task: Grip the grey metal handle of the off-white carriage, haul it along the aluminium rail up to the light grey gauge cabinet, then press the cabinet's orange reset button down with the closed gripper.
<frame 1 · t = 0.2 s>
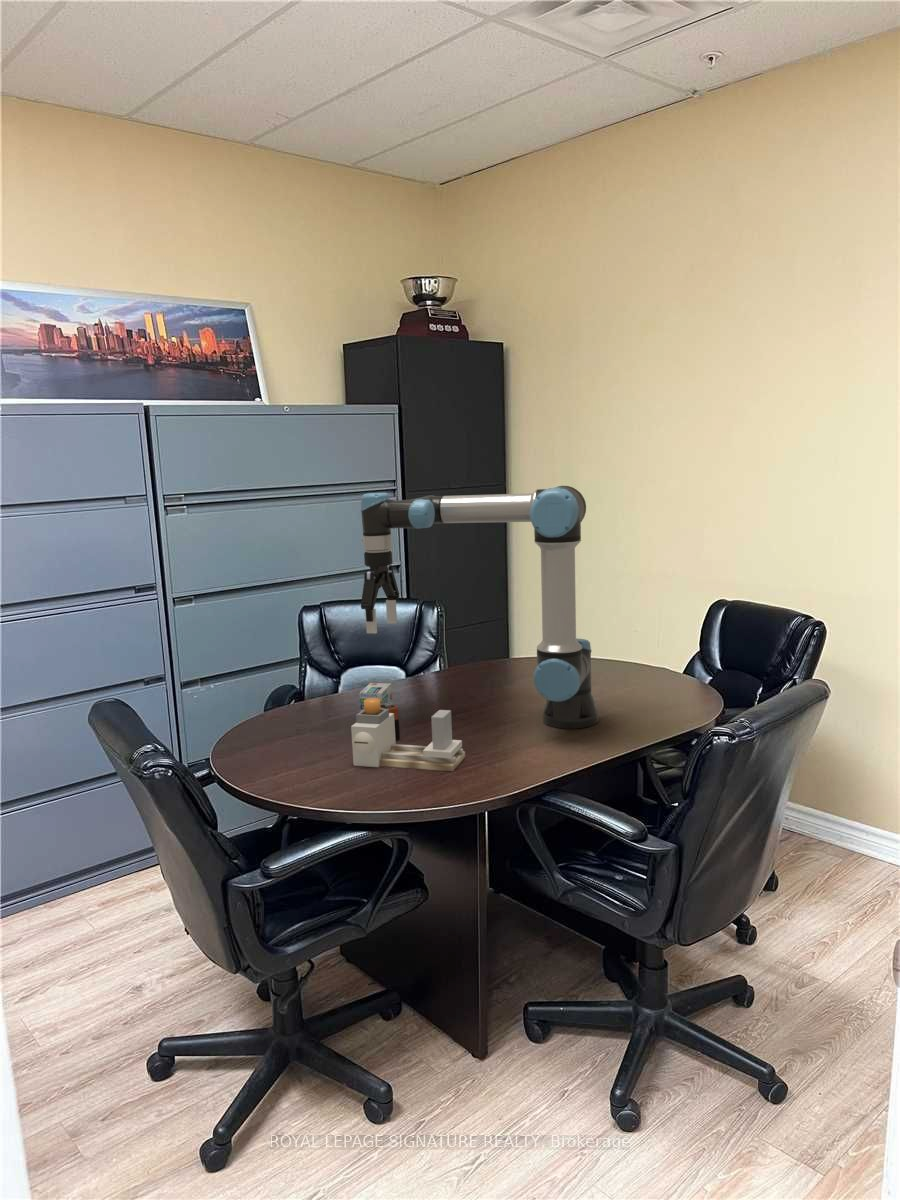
hand: (382, 628, 250), 28 cm above the table, fingers open, 13 cm apart
rail bed: (423, 761, 225), on the table
reset button: (372, 706, 226), point 14 cm above the table, slide at 0.0 cm
gauge cabinet: (375, 758, 229), on the table
carriage: (442, 732, 222), point 8 cm above the table, slide at 0.0 cm
light bulb box: (378, 725, 256), on the table
battery: (386, 739, 244), on the table
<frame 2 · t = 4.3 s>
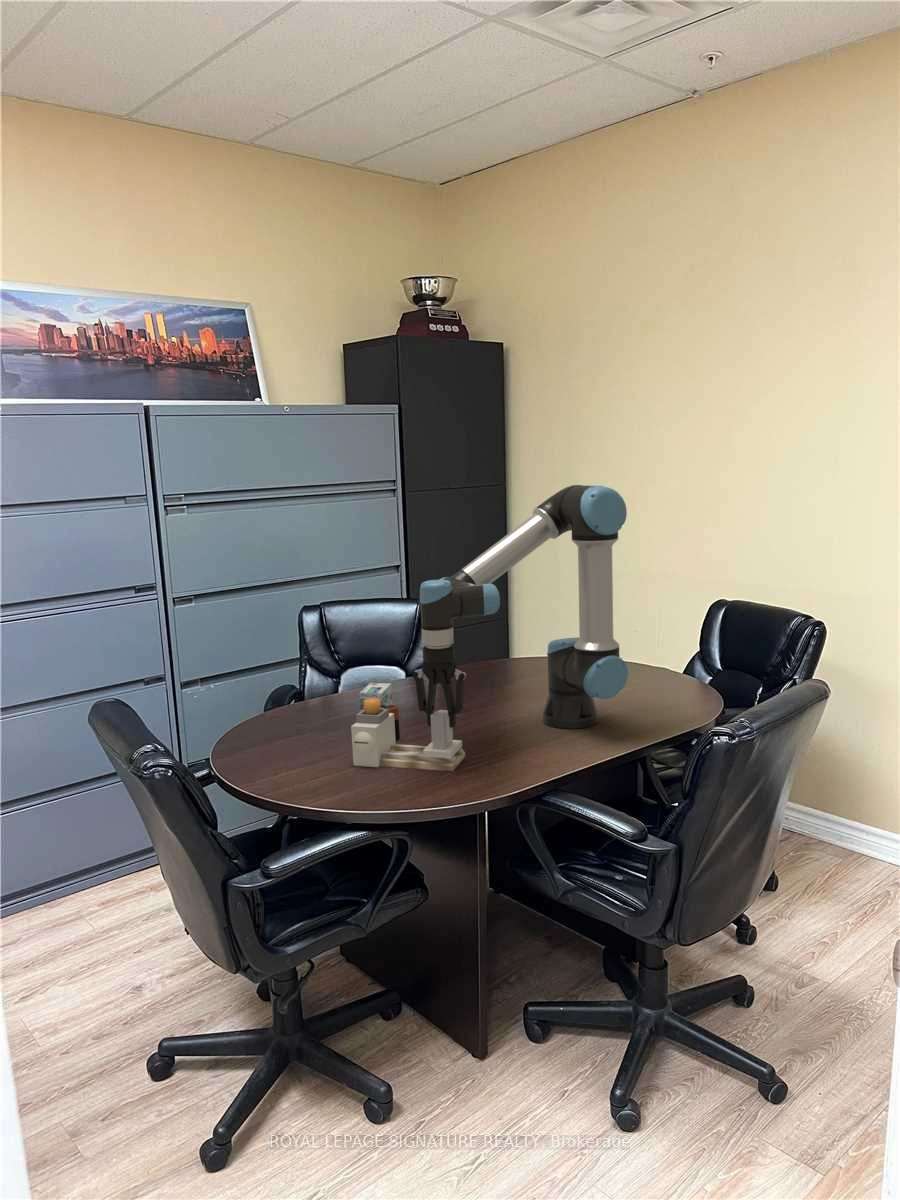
hand: (442, 739, 222), 6 cm above the table, fingers closed on carriage, 3 cm apart
carriage: (442, 732, 222), point 8 cm above the table, slide at 0.0 cm, touching gripper
everything else where it was.
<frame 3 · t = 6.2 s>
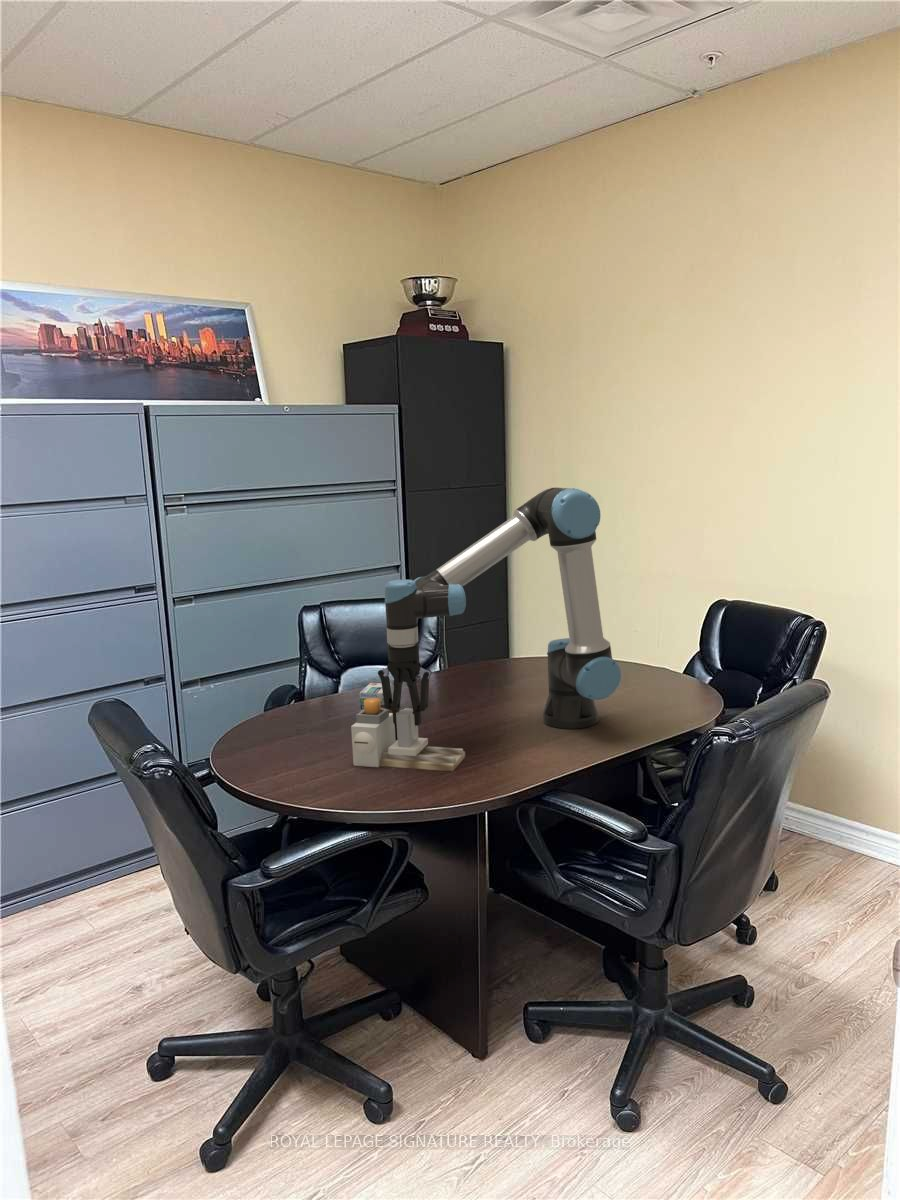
hand: (407, 737, 225), 6 cm above the table, fingers closed on carriage, 3 cm apart
carriage: (407, 730, 224), point 8 cm above the table, slide at 8.9 cm, touching gripper
everything else where it was.
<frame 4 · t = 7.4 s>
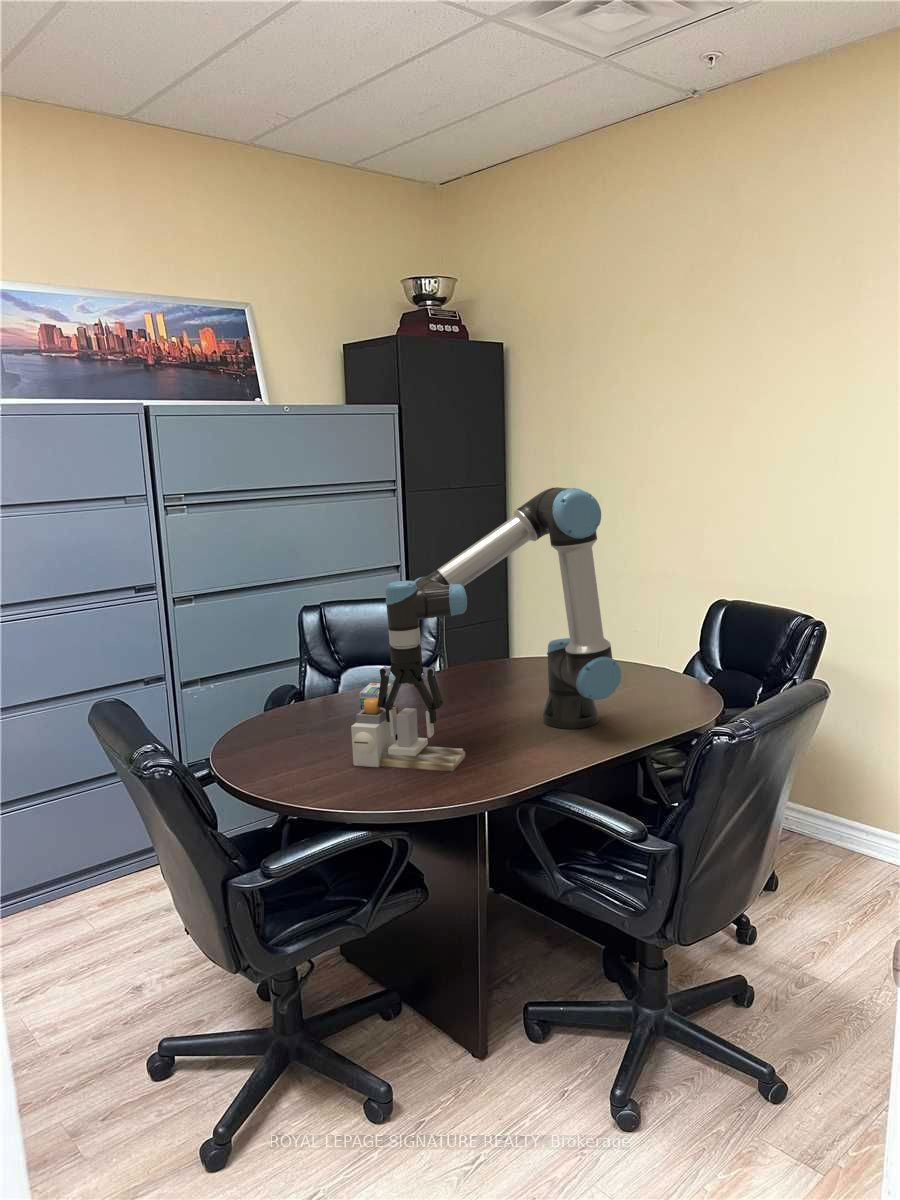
hand: (412, 735, 224), 7 cm above the table, fingers open, 9 cm apart
carriage: (407, 730, 224), point 8 cm above the table, slide at 9.0 cm
everything else where it was.
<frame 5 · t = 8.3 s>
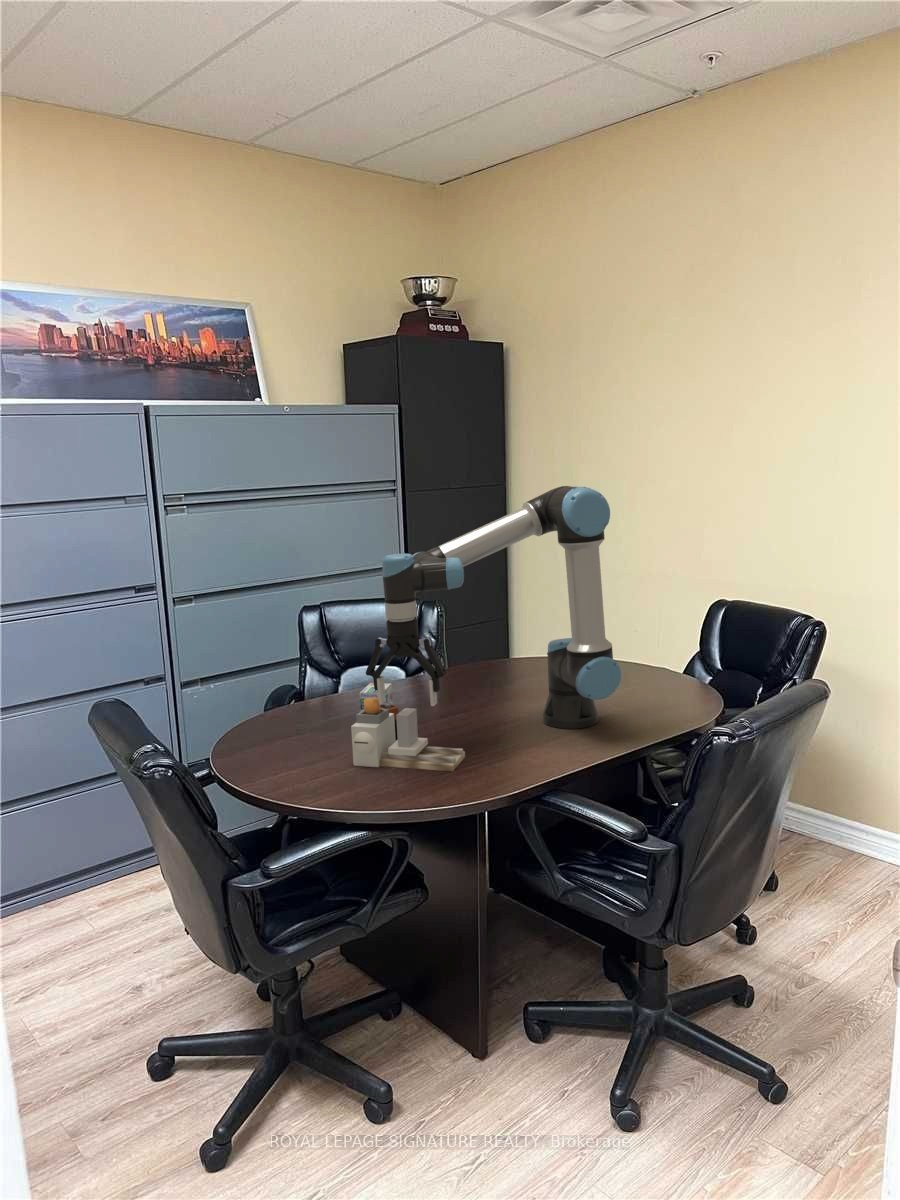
hand: (407, 703, 223), 14 cm above the table, fingers open, 13 cm apart
nothing on the table moved.
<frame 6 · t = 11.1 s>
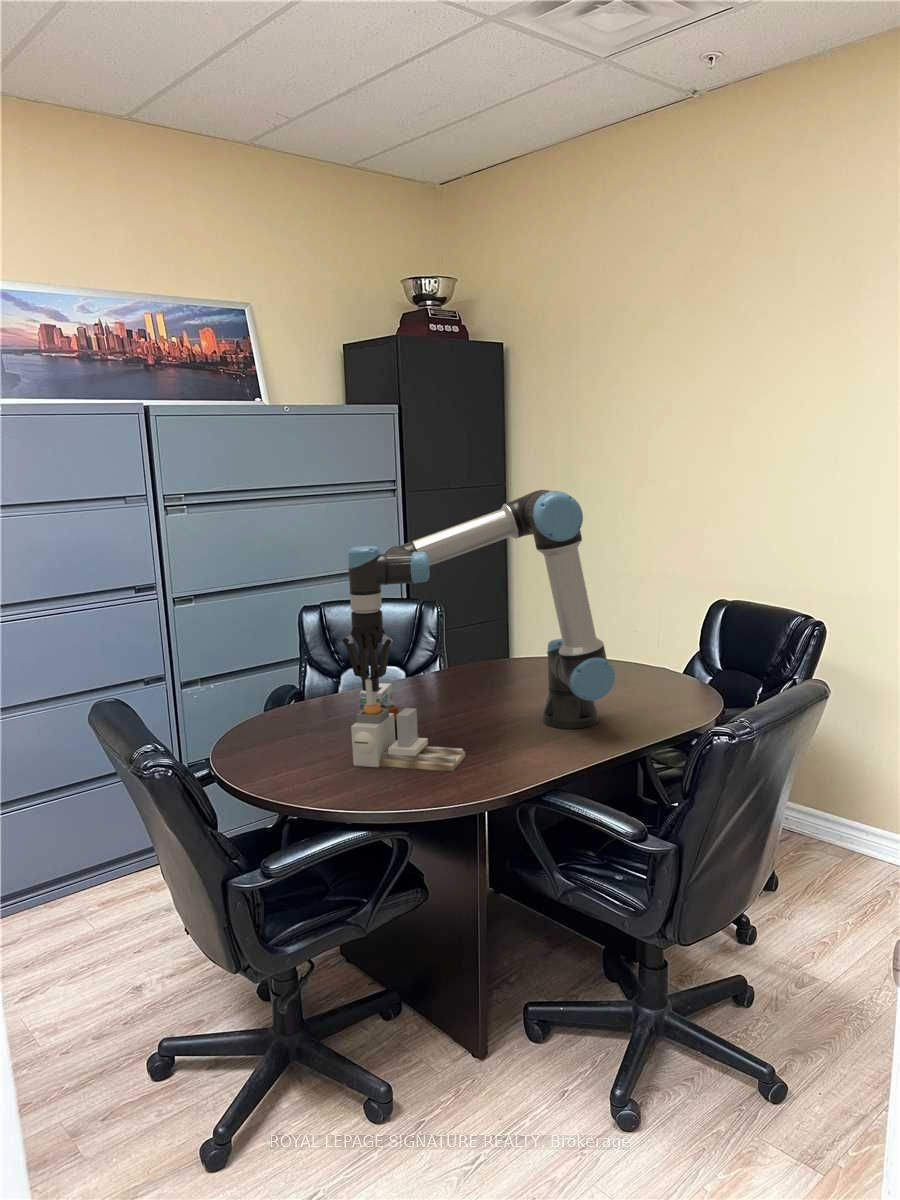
hand: (371, 703, 226), 14 cm above the table, fingers closed
reset button: (372, 710, 227), point 12 cm above the table, slide at 1.2 cm, touching gripper
everything else where it was.
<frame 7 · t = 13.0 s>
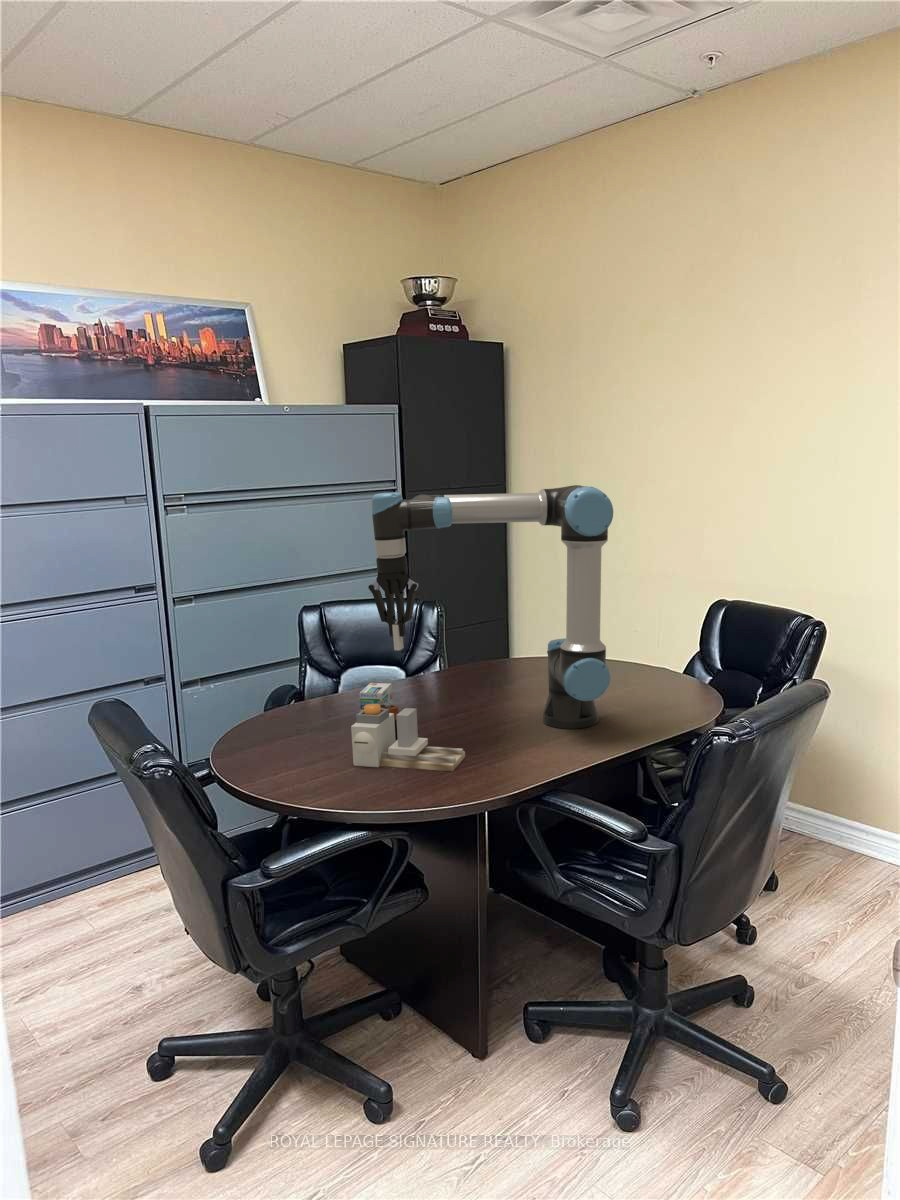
hand: (398, 648, 229), 26 cm above the table, fingers closed
reset button: (372, 711, 227), point 12 cm above the table, slide at 1.5 cm
everything else where it was.
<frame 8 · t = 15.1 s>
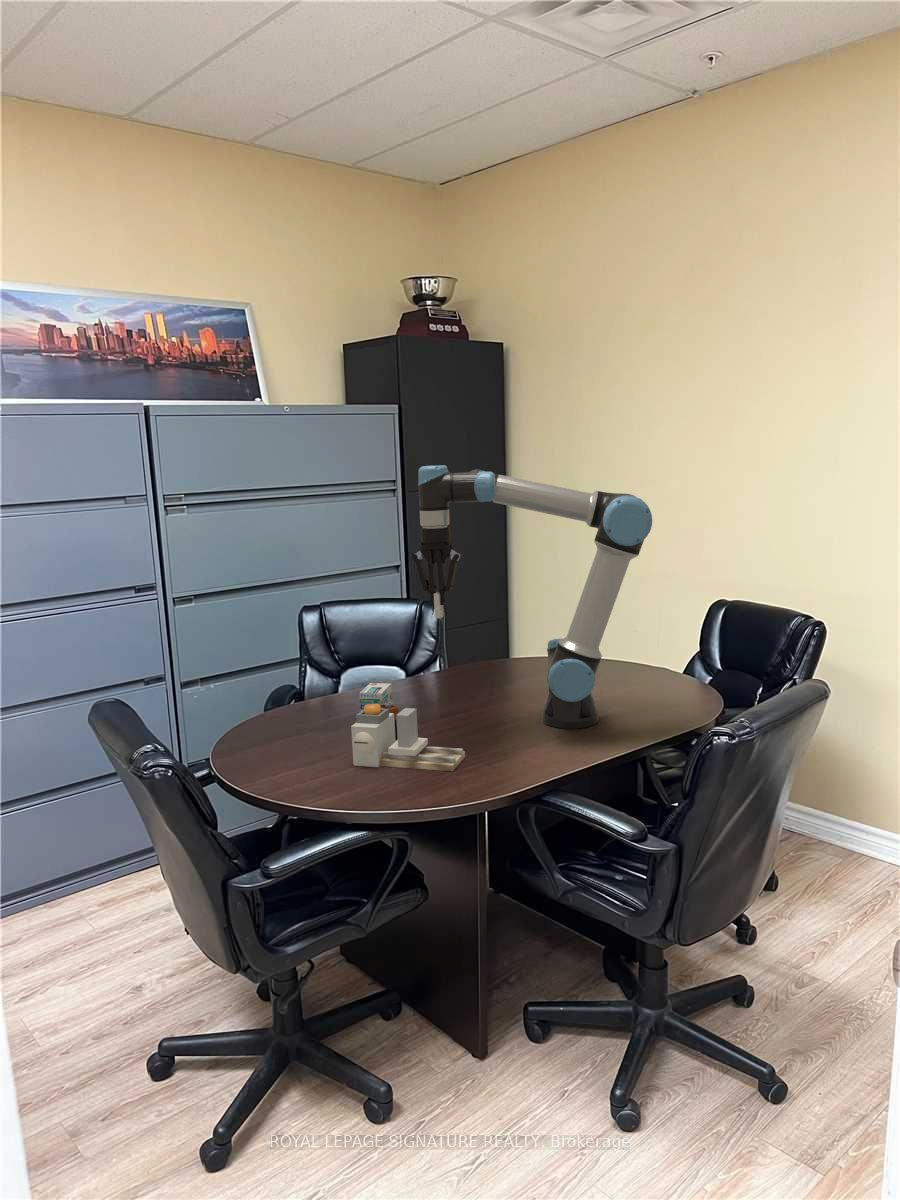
hand: (439, 617, 237), 32 cm above the table, fingers closed
nothing on the table moved.
at the end: carriage slide at 9.0 cm; reset button slide at 1.5 cm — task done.
